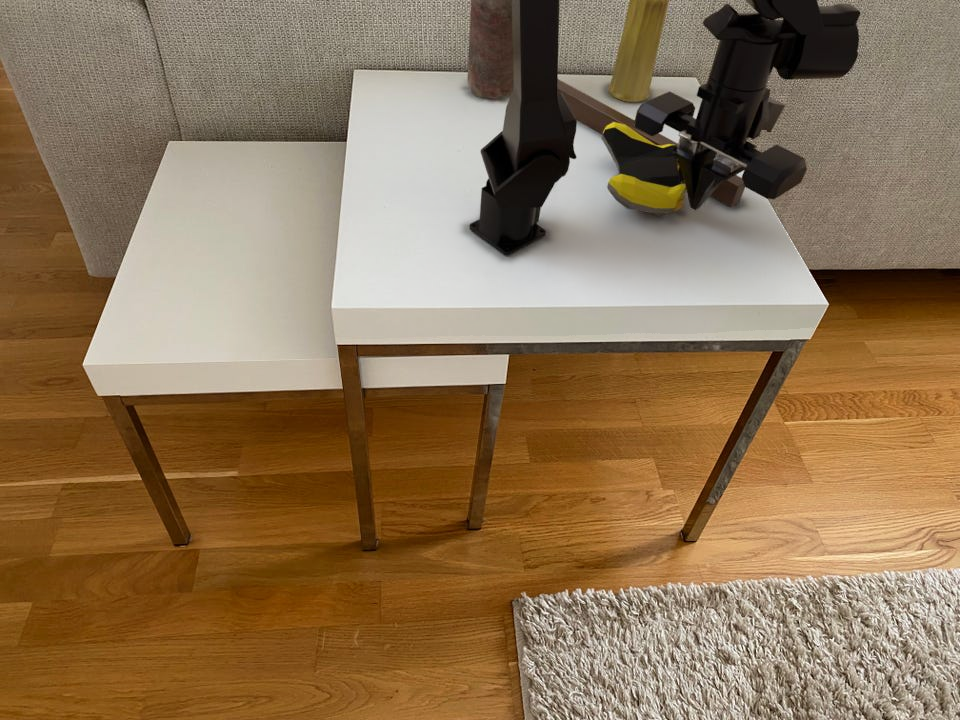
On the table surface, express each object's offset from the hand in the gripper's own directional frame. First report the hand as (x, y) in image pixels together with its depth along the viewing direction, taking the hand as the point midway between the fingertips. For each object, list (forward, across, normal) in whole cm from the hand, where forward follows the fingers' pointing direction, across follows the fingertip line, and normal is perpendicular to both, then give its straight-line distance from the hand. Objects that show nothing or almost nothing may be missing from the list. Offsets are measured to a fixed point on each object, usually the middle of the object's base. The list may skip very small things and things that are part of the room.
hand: (695, 208), depth 82 cm
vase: (+2, +26, -19) cm, 32 cm away
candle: (+2, +39, -3) cm, 39 cm away
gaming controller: (+2, +8, 0) cm, 8 cm away
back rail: (+2, +16, -7) cm, 18 cm away
